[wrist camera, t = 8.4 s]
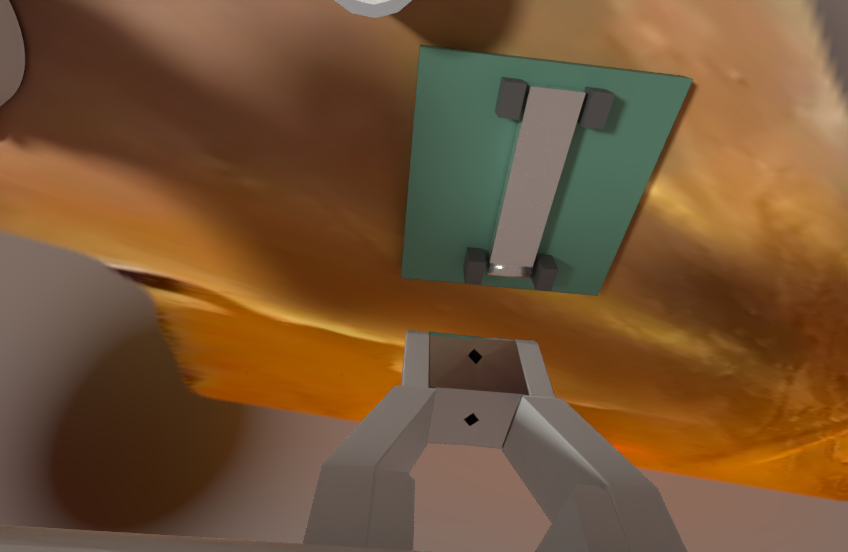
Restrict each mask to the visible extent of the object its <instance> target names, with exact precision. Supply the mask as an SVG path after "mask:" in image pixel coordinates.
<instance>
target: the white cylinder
mask: <svg viewBox="0 0 848 552" xmlns="http://www.w3.org/2000/svg"><path fill="white" fill-rule="evenodd" d="M334 1H336V2H337V3H338V4H340V5H341V6H342V7H344V8H345V9H347V10H348V11H349V12H351V13H354V14H358V15H363V16H367V17H372V18H378V17H382V16H386V15H390V14H394V13H398V12H399V11H400V10H401V9H402V8H403V7H405V6H406V5H407V4H408V3H409V2H411V1H412V0H334Z"/></svg>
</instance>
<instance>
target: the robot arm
mask: <svg viewBox="0 0 848 552" xmlns="http://www.w3.org/2000/svg"><path fill="white" fill-rule="evenodd" d="M24 69H25V50H24V43H23V38H22V34H21V30H20V26H19V23H18V20H17V18H16V15H15V13H14V10H13V8H12V6H11V3H10V1H9V0H0V106H1V105H3V104H4V103H5V102H6V101H7V100H9V99H10V98H11V97H12V96H13V95H14V94H15V92H16V91H17V90H18V88H19V86H20V84H21V81H22V78H23V75H24ZM427 443H430V444H452V445H468V446H478V447H489V448H498V449H503V450H502V451H503V453H504V454H505V456H506V457H507V459H508V460H509V462H510V463H511V465H512V466H513V467H514V469H515V470H516V472H517V473H518V475H519V476H520V478H521V479H522V481H523V482H524V484H525V485H526V487H527V488H528V489H529V491H530V492H531V494H532V495H533V497H534V498H535V499H536V501H537V503H538V504H539V505H540V507H541V508H542V510H543V511H544V513H545V514H546V516H547V517H548V519H549V520H550V522H551V523H552V525H551V526H550V528H549V530H548V531H547V533H546V534H545V536H544V538H543V539H542V541H541V543H540V544H539V546H538V548H537V549H536V551H535V552H687V550H686V548H685V546H684V544H683V541H682V539H681V537H680V535H679V533H678V531H677V529H676V526H675V524H674V522H673V520H672V518H671V516H670V513H669V511H668V509H667V507H666V505H665V503H664V501H663V498H662V496H661V494H660V492H659V490H658V488H657V487H656V486H655V485H654V484H653V483H652V482H650V481H649V480H648V479H647V478H646V477H645V476H644V475H643V474H642V473H641V472H640V471H639V470H638V469H637V468H636V467H635V466H633V465H632V464H631V463H630V462H629V461H628V460H627V459H626V458H625V457H624V456H623V455H622V454H621V453H620V452H619V451H617V450H616V449H615V448H614V447H613V446H612V445H611V444H610V443H609V442H608V441H607V440H606V439H605V438H604V437H603V436H602V435H600V434H599V433H598V432H597V431H596V430H595V429H594V428H593V427H592V426H591V425H590V424H589V423H588V422H587V421H586V420H585V419H583V418H582V417H581V416H580V415H579V414H578V413H577V412H576V411H575V410H574V409H573V408H572V407H571V406H570V405H569V404H567V403H566V402H565V401H564V400H563V399H561V398H555V395H554V392H553V388H552V385H551V382H550V379H549V376H548V373H547V370H546V367H545V364H544V361H543V357H542V354H541V351H540V348H539V345H538V343H537V342H536V341H533V340H519V339H513V340H512V339H502V338H489V337H477V336H465V335H456V334H447V333H438V332H429V333H428V332H424V331H415V330H407V332H406V339H405V349H404V358H403V368H402V377H401V386H399V385H395V386H394V387H393V388H392V389H391V391H390V392H389V393H388V394H387V395H386V396H385V397H384V398H383V399H382V400H381V401H380V402H379V403H378V404H377V406H376V407H375V408H374V409H373V410H372V411H371V412H370V413H369V414H368V415H367V416H366V417H365V418H364V419H363V421H362V422H361V423H360V424H359V425H358V426H357V427H356V428H355V429H354V430H353V431H352V432H351V433H350V434H349V436H348V437H347V438H346V439H345V440H344V441H343V442H342V443H341V444H340V445H339V446H338V447H337V448H336V450H335V451H334V452H333V453H332V454H331V455H330V456H329V457H328V458H327V459H326V460H325V461H324V463H322V466H321V471H320V474H319V478H318V483H317V487H316V491H315V495H314V499H313V503H312V508H311V511H310V516H309V520H308V524H307V528H306V532H305V536H304V540H303V544H300V543H284V542H267V541H250V540H234V539H218V538H201V537H184V536H168V535H152V534H151V535H150V534H136V533H134V534H133V533H119V532H103V531H86V530H69V529H52V528H37V527H20V526H3V525H0V552H430V551H416V550H413V539H414V538H413V537H414V498H415V496H414V495H415V480H414V479H413V478H412V477H411V476H410V475H409V472H410V471H411V469H412V468H413V466H414V465H415V463H416V462H417V460H418V458H419V457H420V455H421V454H422V452H423V451H424V449H425V447H426V446H427Z"/></svg>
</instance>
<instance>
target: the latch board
mask: <svg viewBox="0 0 848 552" xmlns="http://www.w3.org/2000/svg"><path fill="white" fill-rule="evenodd" d="M692 80H693V79H692V78H688V77H685V76H680V75H672V74H663V73H655V72H646V71H638V70H629V69H621V68H612V67H604V66H596V65H587V64H579V63H570V62H562V61H553V60H545V59H536V58H528V57H520V56H511V55H503V54H494V53H486V52H477V51H469V50H461V49H452V48H444V47H435V46H427V45H420V52H419V64H418V76H417V88H416V100H415V112H414V124H413V136H412V148H411V160H410V172H409V184H408V196H407V208H406V220H405V232H404V244H403V256H402V268H401V278H408V279H419V280H430V281H441V282H452V283H463V284H474V285H485V286H496V287H507V288H518V289H529V290H540V291H551V292H562V293H573V294H584V295H595V296H598V294H599V291H600V289H601V287H602V285H603V282H604V280H605V278H606V276H607V273H608V271H609V269H610V266H611V264H612V262H613V260H614V257H615V255H616V253H617V251H618V248H619V246H620V244H621V241H622V239H623V237H624V235H625V232H626V230H627V228H628V226H629V223H630V221H631V219H632V217H633V214H634V212H635V210H636V207H637V205H638V203H639V201H640V198H641V196H642V194H643V192H644V189H645V187H646V185H647V183H648V180H649V178H650V176H651V173H652V171H653V169H654V167H655V164H656V162H657V160H658V158H659V155H660V153H661V151H662V149H663V146H664V144H665V142H666V139H667V137H668V135H669V133H670V130H671V128H672V126H673V124H674V121H675V119H676V117H677V115H678V112H679V110H680V108H681V105H682V103H683V101H684V99H685V96H686V94H687V92H688V90H689V87H690V85H691V83H692ZM527 84H535V85H544V86H552V87H561V88H570V89H578V90H582V91H584V92H585V93H586V94H585V97H584V101H583V104H582V107H581V110H580V114H579V117H578V120H577V123H576V127H575V130H574V133H573V137H572V140H571V143H570V146H569V150H568V153H567V156H566V159H565V163H564V166H563V169H562V173H561V176H560V179H559V182H558V186H557V189H556V192H555V195H554V199H553V202H552V205H551V208H550V212H549V215H548V218H547V222H546V225H545V228H544V231H543V235H542V238H541V241H540V244H539V248H538V251H537V254H536V258H535V261H534V264H533V269H532V275H531V277H530V279H523V278H512V277H501V276H490V275H486V273H485V266H486V260H487V257H488V254H489V250H490V245H491V241H492V236H493V232H494V228H495V223H496V219H497V214H498V210H499V205H500V201H501V197H502V192H503V188H504V183H505V179H506V174H507V170H508V166H509V161H510V157H511V152H512V148H513V144H514V139H515V135H516V130H517V126H518V121H519V117H520V113H521V108H522V104H523V99H524V95H525V90H526V86H527Z"/></svg>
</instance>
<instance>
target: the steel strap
mask: <svg viewBox="0 0 848 552" xmlns="http://www.w3.org/2000/svg"><path fill="white" fill-rule="evenodd" d="M585 94H586V93H585V92H584V91H582V90H578V89H570V88H561V87H552V86H544V85H535V84H527V86H526V90H525V95H524V99H523V104H522V108H521V113H520V117H519V121H518V126H517V130H516V135H515V139H514V144H513V148H512V152H511V157H510V161H509V166H508V170H507V174H506V179H505V183H504V188H503V192H502V197H501V201H500V205H499V210H498V214H497V219H496V223H495V228H494V232H493V236H492V241H491V245H490V250H489V254H488V257H487V260H486V266H485V273H486V275H490V276H501V277H512V278H523V279H530V277H531V275H532V269H533V264H534V261H535V258H536V254H537V251H538V248H539V244H540V241H541V238H542V235H543V231H544V228H545V225H546V222H547V218H548V215H549V212H550V208H551V205H552V202H553V199H554V195H555V192H556V189H557V186H558V182H559V179H560V176H561V173H562V169H563V166H564V163H565V159H566V156H567V153H568V150H569V146H570V143H571V140H572V137H573V133H574V130H575V127H576V123H577V120H578V117H579V114H580V110H581V107H582V104H583V101H584V97H585Z"/></svg>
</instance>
